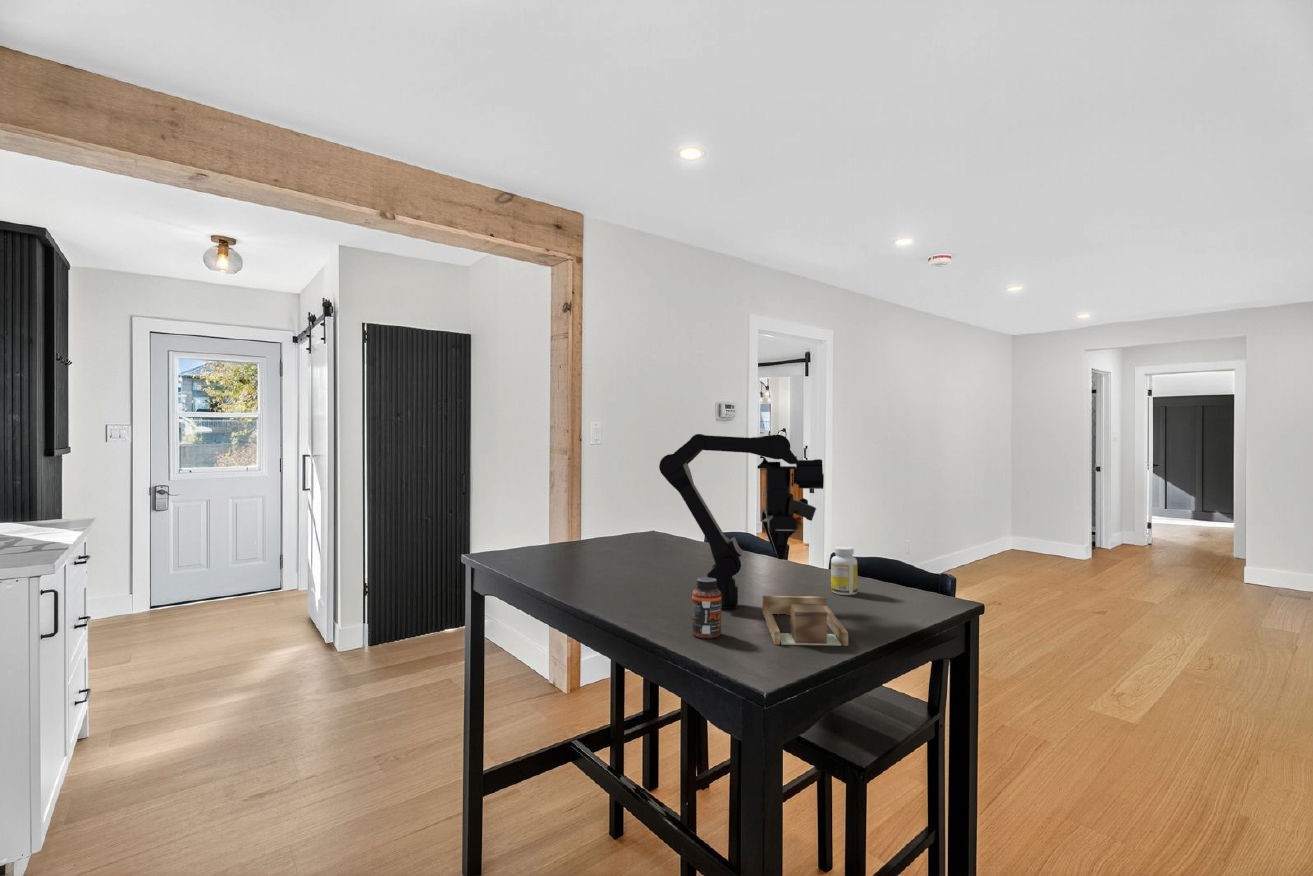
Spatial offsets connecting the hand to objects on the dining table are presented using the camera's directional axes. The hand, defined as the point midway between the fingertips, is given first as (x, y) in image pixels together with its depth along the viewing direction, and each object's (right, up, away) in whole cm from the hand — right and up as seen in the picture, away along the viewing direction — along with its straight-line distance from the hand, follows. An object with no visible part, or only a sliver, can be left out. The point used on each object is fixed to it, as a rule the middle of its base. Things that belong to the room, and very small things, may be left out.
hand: (778, 555), depth 144 cm
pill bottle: (+20, -13, +15) cm, 28 cm away
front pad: (+2, -13, -22) cm, 25 cm away
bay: (+2, -12, -15) cm, 19 cm away
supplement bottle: (-18, -13, -19) cm, 29 cm away
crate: (+2, -12, -22) cm, 25 cm away
